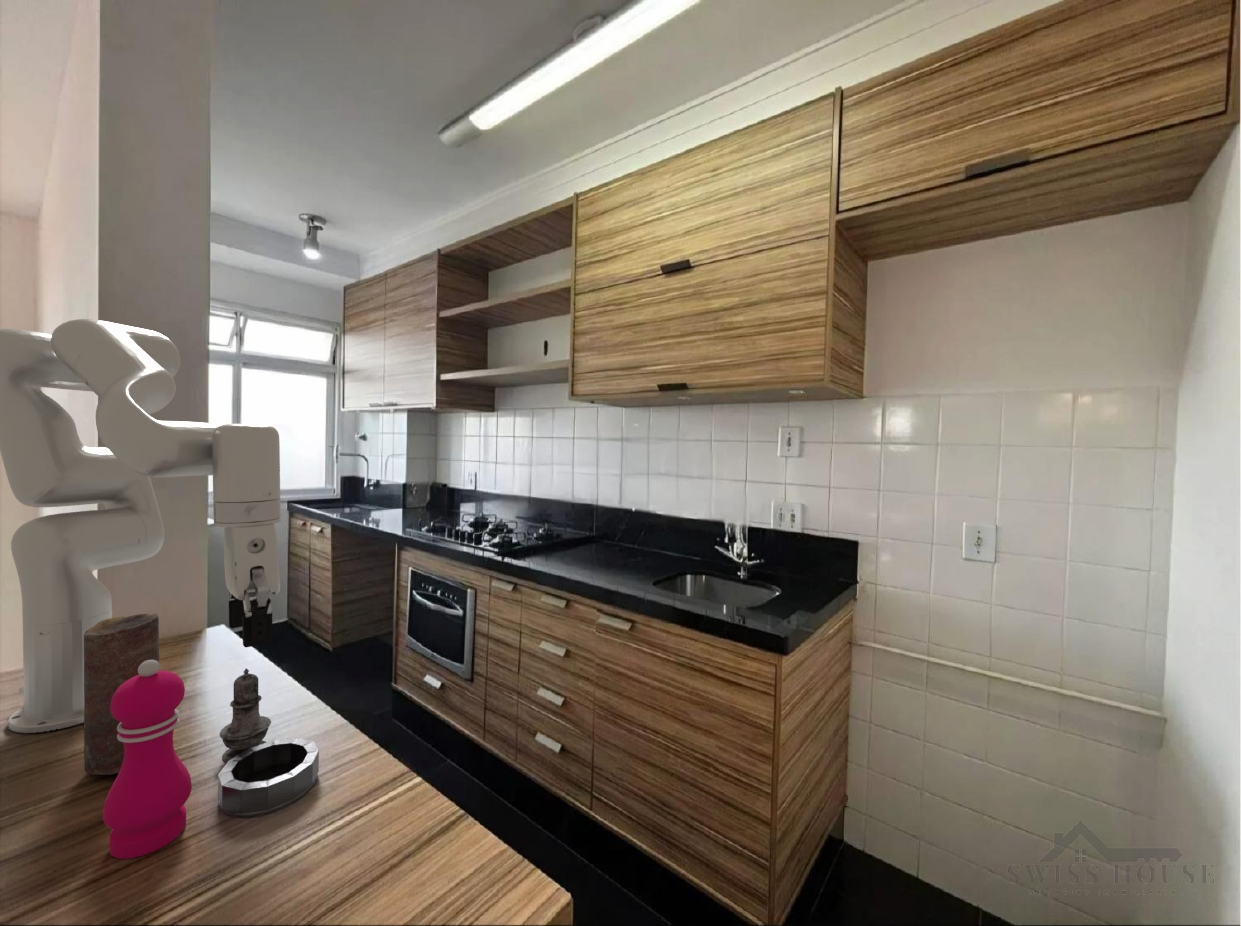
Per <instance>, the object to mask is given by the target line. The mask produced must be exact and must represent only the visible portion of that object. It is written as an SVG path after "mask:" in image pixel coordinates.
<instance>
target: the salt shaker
mask: <svg viewBox="0 0 1241 926" xmlns="http://www.w3.org/2000/svg"><path fill="white" fill-rule="evenodd" d="M249 672H250V670H249V669H247V668H245V669H244V671H243V674H242V675H240V676H238V677H237V678H236V679H234V682H233V700H231V702H230V703H229V706H230V707H231V708H232V718H231V722H229V723H228V724H227V725H225V726H224V727H223V728H222V729H221V730H220V731H219V737H220V738H221V739H222V743H223V744H224V746H225V747H226V748H227V750H225V752H224V753H222V756H221V758H222V761H223V762H224V763H226V764H227V762H228V761H229V760H231V759H232V758H234V757H236V756H237V755H239V754H241V753H242V752H244V751H246V750H247V749H249V748H252V747H255V746H258V745H261V744H264V743H267V742H268V741H265V740H264V738H265V737H266V735H267V734H268V731H269V727H270V726H271V724H272V721H271V719H270V718H269V717H268V716H264V715H261V714H260V701H261V700H262V698H263V697H262V696H261V695H259V677H258V676H257V674H253V673H249Z"/></svg>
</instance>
